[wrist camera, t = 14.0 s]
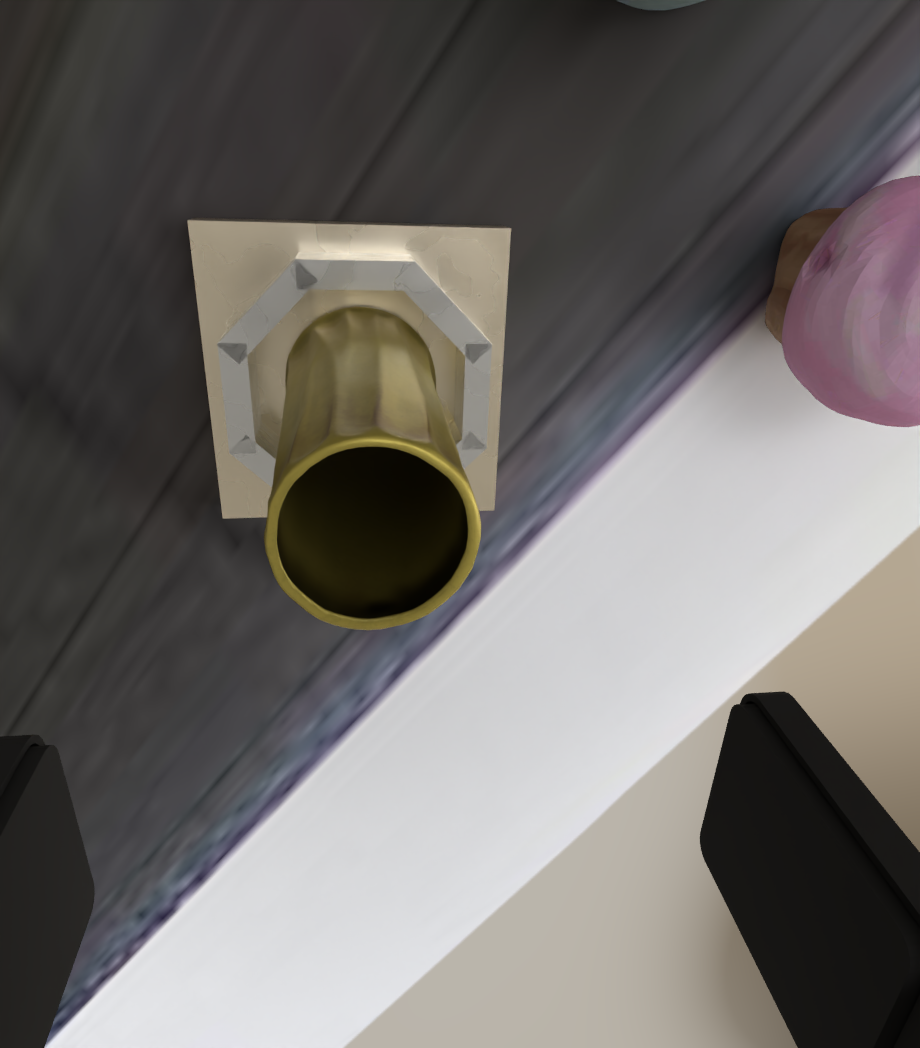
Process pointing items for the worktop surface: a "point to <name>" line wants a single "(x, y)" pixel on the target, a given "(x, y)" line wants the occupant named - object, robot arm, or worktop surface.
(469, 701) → the worktop surface
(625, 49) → the worktop surface
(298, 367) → the vase
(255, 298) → the ring stand
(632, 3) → the blue-green cup
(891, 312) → the cupcake
